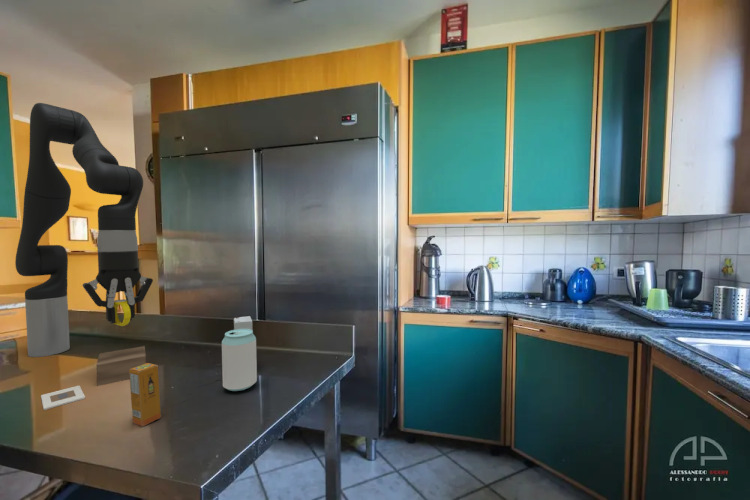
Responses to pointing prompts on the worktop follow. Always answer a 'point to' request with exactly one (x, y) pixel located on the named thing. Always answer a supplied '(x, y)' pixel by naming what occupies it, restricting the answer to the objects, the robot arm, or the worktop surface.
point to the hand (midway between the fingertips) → (120, 321)
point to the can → (239, 359)
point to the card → (62, 397)
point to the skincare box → (243, 323)
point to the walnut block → (118, 364)
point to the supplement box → (145, 394)
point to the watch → (125, 309)
